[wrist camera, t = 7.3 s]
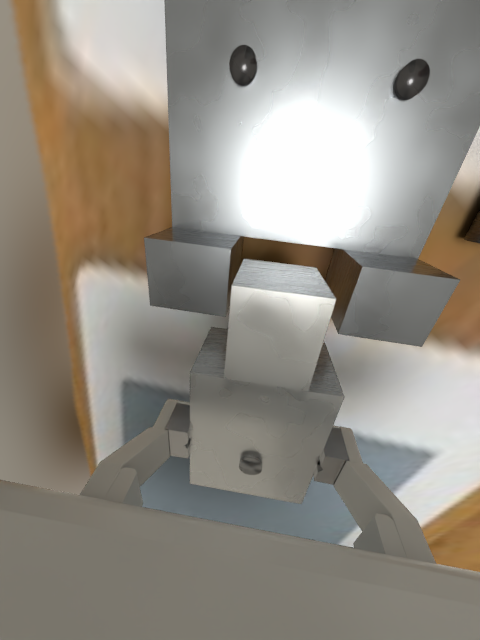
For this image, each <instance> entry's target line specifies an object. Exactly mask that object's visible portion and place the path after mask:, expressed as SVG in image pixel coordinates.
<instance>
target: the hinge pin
mask: <svg viewBox="0 0 480 640" xmlns="http://www.w3.org/2000/svg"><path fill="white" fill-rule="evenodd" d="M464 240H468V241H472V242H477V243H480V210H479V212H478V214H477V216H476V218H475V219H474V221H473V223H472V225H471V227H470V229H469V231H468V233H467V234H466V236H465V238H464Z"/></svg>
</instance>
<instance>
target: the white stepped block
mask: <svg viewBox="0 0 480 640" xmlns="http://www.w3.org/2000/svg"><path fill="white" fill-rule="evenodd" d="M335 302H336V298H335V296H334V295H333V293H332V292H331V290H330V289H329V287H328V285H327V284H326V282H325V281H324V279H323V278H322V276H321V274H320V273H319V271H318V270H317V268H316V267H308V266H300V265H292V264H284V263H276V262H267V261H259V260H251V259H244V260H243V262H242V264H241V266H240V268H239V271H238V273H237V275H236V277H235V279H234V282H233V284H232V289H231V300H230V312H229V324H228V329H222V328H215V327H211V329H210V331H209V333H208V335H207V337H206V339H205V342H204V344H203V346H202V348H201V350H200V352H199V354H198V357H197V359H196V361H195V363H194V365H193V367H192V369H191V372H190V484H195V485H200V486H206V487H211V488H217V489H222V490H228V491H233V492H239V493H244V494H249V495H255V496H260V497H266V498H271V499H277V500H282V501H288V502H293V503H299V504H302V502H303V499H304V497H305V494H306V492H307V489H308V487H309V484H310V482H311V479H312V477H313V474H314V471H315V469H316V466H317V464H318V462H319V458H320V456H321V453H322V451H323V449H324V447H325V444H326V442H327V439H328V437H329V434H330V432H331V429H332V427H333V424H334V422H335V419H336V417H337V414H338V412H339V410H340V407H341V405H342V402H343V400H344V394H343V391H342V389H341V386H340V383H339V381H338V378H337V375H336V372H335V370H334V367H333V364H332V361H331V359H330V356H329V353H328V351H327V348H326V345H325V343H323V341H324V338H325V335H326V331H327V328H328V325H329V322H330V318H331V315H332V312H333V308H334V305H335Z"/></svg>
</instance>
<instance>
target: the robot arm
mask: <svg viewBox="0 0 480 640" xmlns="http://www.w3.org/2000/svg"><path fill="white" fill-rule="evenodd" d="M189 454H190V403H189V402H184V401H179V400H173V399H168V400H167V401H166V402H165V404H164V406H163V408H162V410H161V412H160V414H159V416H158V418H157V420H156V422H155V424H154V426H153V428H152V427H149V428H148V429H146V430H145V431H143V432H142V433H141V434H139V435H138V436H136V437H135V438H133V439H132V440H131V441H129V442H128V443H126V444H125V445H124V446H122V447H121V448H119V449H118V450H116V451H115V452H114V453H112V454H111V455H109V456H108V457H106V458H105V459H104V460H102V461H101V462H100V463H99V465H98V467H97V468H96V470H95V471H94V473H93V474H92V476H91V478H90V479H89V481H88V482H87V484H86V485H85V487H84V489H83V490H82V492H81V493H80V495H77V494H72V493H67V492H62V491H56V490H51V489H46V488H40V487H36V486H30V485H25V484H20V483H15V482H10V481H5V480H0V640H480V572H476V571H471V570H466V569H460V568H455V567H450V566H445V565H440V564H436V562H435V560H434V558H433V556H432V553H431V551H430V549H429V546H428V544H427V542H426V539H425V537H424V535H423V532H422V530H421V528H420V525H419V523H418V521H417V519H416V518H415V517H414V516H413V515H412V514H411V513H410V512H409V510H408V509H407V508H406V507H405V506H404V505H403V504H402V503H401V502H400V501H399V499H398V498H397V497H396V496H395V495H394V494H393V493H392V492H391V491H390V490H389V488H388V487H387V486H386V485H385V484H384V483H383V482H382V481H381V480H380V479H379V477H378V476H377V475H376V474H375V473H374V472H373V471H372V470H371V469H370V468H369V466H368V465H367V464H363V462H362V459H361V456H360V453H359V450H358V447H357V444H356V441H355V438H354V435H353V432H352V430H351V429H350V428H344V427H338V426H333V427H332V429H331V432H330V434H329V437H328V439H327V442H326V444H325V447H324V449H323V451H322V453H321V456H320V458H319V462H318V464H317V466H316V469H315V471H314V474H313V475H314V481H318V482H323V483H327V484H332V485H334V487H335V489H336V491H337V492H338V494H339V495H340V497H341V498H342V500H343V502H344V503H345V505H346V506H347V508H348V509H349V511H350V513H351V514H352V516H353V517H354V519H355V521H356V522H357V524H358V525H359V527H360V528H361V530H362V533H361V534H360V536H359V537H358V538H357V540H356V541H355V542H354V543H353V544H354V548H352V547H346V546H341V545H336V544H331V543H326V542H321V541H315V540H310V539H305V538H300V537H295V536H290V535H284V534H279V533H274V532H269V531H264V530H259V529H253V528H248V527H243V526H238V525H233V524H228V523H222V522H217V521H212V520H207V519H202V518H196V517H191V516H186V515H181V514H176V513H171V512H165V511H160V510H155V509H150V508H145V507H142V505H143V500H142V496H141V491H140V486H141V485H142V484H143V483H144V482H145V481H146V480H147V479H148V478H149V477H150V476H151V475H152V474H153V473H154V472H155V471H156V470H157V469H158V468H159V467H160V466H161V465H162V464H163V463H164V462H165V461H166V460H167V459H168V458H169V457H170V456H175V457H182V458H188V457H189Z"/></svg>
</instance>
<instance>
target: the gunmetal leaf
mask: <svg viewBox="0 0 480 640" xmlns="http://www.w3.org/2000/svg"><path fill="white" fill-rule="evenodd" d="M165 26H166V55H167V85H168V114H169V143H170V172H171V202H172V227H171V228H169V229H166V230H163V231H161V232H158V233H155V234H152V235H150V236H147V237H144V241H145V253H146V264H147V275H148V286H149V297H150V305H151V306H157V307H164V308H171V309H177V310H184V311H190V312H197V313H203V314H210V315H217V316H223V317H226V314H227V312H228V309H229V307H230V300H231V289H232V284H233V282H234V279H235V277H236V275H237V273H238V271H239V268H240V266H241V257H242V247H243V238H244V236H245V237H252V238H260V239H268V240H275V241H283V242H291V243H299V244H306V245H314V246H322V247H329V248H335V249H334V252H333V256H332V259H331V263H330V266H329V270H328V273H327V276H326V280H325V282H326V284H327V285H328V287H329V289H330V290H331V292H332V293H333V295H334V296H335V298H336V302H335V305H334V308H333V312H332V315H331V318H332V320H333V323H334V325H335V327H336V330H337V332H338V334H342V335H348V336H355V337H361V338H368V339H374V340H381V341H388V342H394V343H401V344H407V345H414V346H420V347H422V345H423V344H424V342H425V340H426V338H427V337H428V335H429V333H430V331H431V330H432V328H433V326H434V324H435V323H436V321H437V319H438V318H439V316H440V314H441V312H442V311H443V309H444V307H445V305H446V304H447V302H448V300H449V298H450V297H451V295H452V293H453V292H454V290H455V288H456V286H457V285H458V283H459V281H460V279H458V278H456V277H453V276H451V275H449V274H447V273H445V272H443V271H441V270H439V269H437V268H435V267H433V266H431V265H429V264H427V263H425V262H423V261H421V260H419V259H418V258H419V255H420V253H421V251H422V249H423V247H424V245H425V243H426V240H427V238H428V236H429V234H430V232H431V230H432V228H433V225H434V223H435V221H436V219H437V217H438V215H439V212H440V210H441V208H442V206H443V204H444V202H445V200H446V197H447V195H448V193H449V191H450V189H451V187H452V184H453V182H454V180H455V178H456V176H457V174H458V172H459V169H460V167H461V165H462V163H463V161H464V159H465V157H466V154H467V152H468V150H469V148H470V146H471V144H472V141H473V139H474V137H475V135H476V133H477V131H478V129H479V126H480V0H165Z"/></svg>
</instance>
